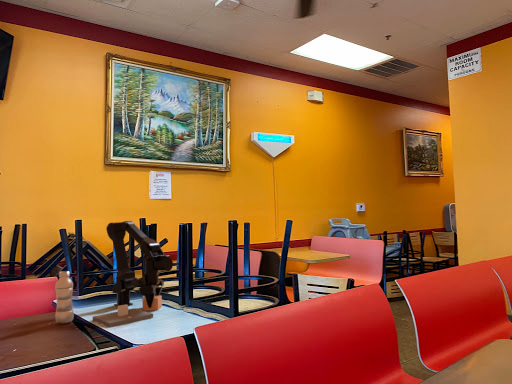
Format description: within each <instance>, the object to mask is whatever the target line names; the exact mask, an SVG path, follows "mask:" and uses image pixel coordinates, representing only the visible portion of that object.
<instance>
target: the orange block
mask: <svg viewBox="0 0 512 384" xmlns="http://www.w3.org/2000/svg"><path fill="white" fill-rule="evenodd" d="M162 300H163V298H162V295H159V296H155V297H154V300H153V303H152V306H151V308H149V307H148V304H147V301H146V298H145V297H143V298H142V304H141V305H142V311H159V310H161V308H162V307H163V306H162V305H163V301H162Z"/></svg>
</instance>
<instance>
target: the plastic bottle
mask: <svg viewBox="0 0 512 384" xmlns="http://www.w3.org/2000/svg"><path fill="white" fill-rule="evenodd" d="M70 276H71V274H70V271H69V270H65V271H64V270H63V271H59V272H58V277H59V278H58V280H57V281H56V282H55V286H54V287H55V290H54V291H55V295H56V310H55V314H54V315H55V316H54V319H55V320H54V321H55V322H56V323H57V324H67V323H70V322H72V321H73V320H74V317H75V314H74V313H75V312H74V308H73V290H74V282H73V281H72V279H71V277H70Z"/></svg>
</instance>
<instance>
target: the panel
mask: <svg viewBox="0 0 512 384" xmlns="http://www.w3.org/2000/svg"><path fill="white" fill-rule="evenodd" d="M153 318H154V313H152V312H149V311H147V310H143V309H138V308H135V307H134V308H129V305H121V306H117V311H115V312H108V313H102V314H99V315H94V316H93V315H92V321H93V322H95V323H99V324H101V325H103V326H105V327H108V328H113V327H116V326H121V325H125V324H126V323H127V324H130V323H135V322H139V321H144V320H149V319H153Z"/></svg>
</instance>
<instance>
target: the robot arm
mask: <svg viewBox="0 0 512 384" xmlns="http://www.w3.org/2000/svg"><path fill="white" fill-rule="evenodd" d="M105 227H106V233H107V235H108V238H109V239H110V240H111V241H112V245H113V249H114V256H115V262H116V267H117V273H116V277H115V281H116V282H115V284H114V285H113V286H112V288H111V291H112V293H113V294H116V303H114V304H113V305H114V306H115V307H116V306H117V307H118V306H121V305H128V306H132V305H134V304H133V303H132V302H131V301H130V297H131V295H130V293H131V292H133V291H134V290H135V289H136V288H138V294H141V295H142V296H144V298H146V301H147V304H148V307H149V308H151V306H152V303H153V300H154V297H155V296H160V295H161V292H162V289H163V287H164V286H165V283H164V280H163V279H159V275H160V272H170V271H172V269H173V267H174V262H173V260H172V258H171V257H170V255H169V254H168V255H166V254H165V252H164V251H163V249H162V247H161V245H160V242H158V241H156V240H155V239H153V238H150V237H148V236H147V235H146V234H145V233H144V232H143V231H142V229H140V228H139V227H138V226H137V224H135V222H134V221H132V220H125V221H121V222H119V221H118V222H109V223H108V224H107V225H106V226H105ZM126 233H128V235H129V236H130V237H131V238H133V240H134V241H135V242H136V243H137V244H138V245H139V250H140V251H141V252H142V254H143V255H144V256H143V257H142V258H141V259H140V260H141V261H144V273H143V275H142V276H141V277H136V272H135V271H132V270H131V268H130V265H129V261H128V254H127V251H126V250H127V249H126V245H125V241H124V239H125V237H126Z"/></svg>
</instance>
